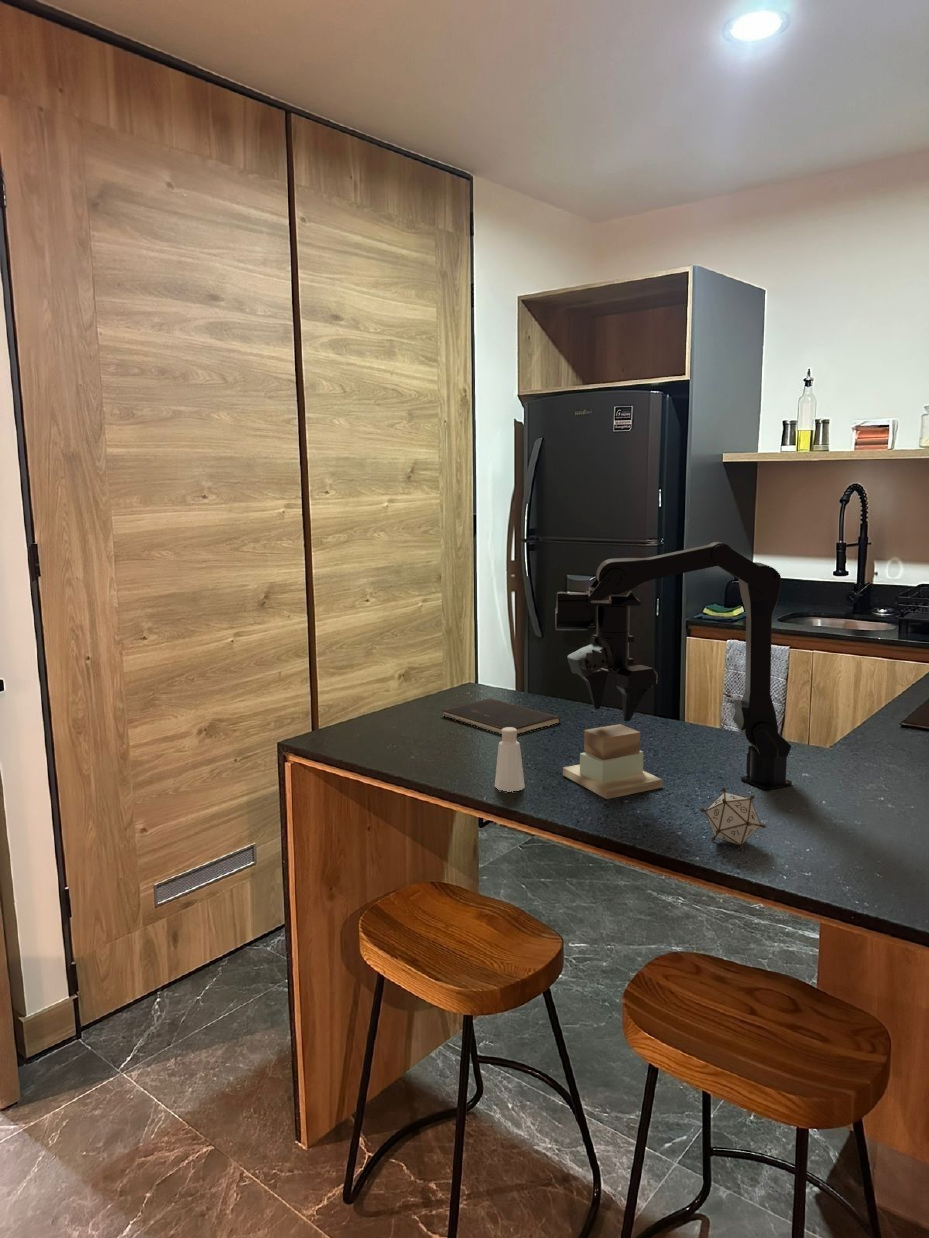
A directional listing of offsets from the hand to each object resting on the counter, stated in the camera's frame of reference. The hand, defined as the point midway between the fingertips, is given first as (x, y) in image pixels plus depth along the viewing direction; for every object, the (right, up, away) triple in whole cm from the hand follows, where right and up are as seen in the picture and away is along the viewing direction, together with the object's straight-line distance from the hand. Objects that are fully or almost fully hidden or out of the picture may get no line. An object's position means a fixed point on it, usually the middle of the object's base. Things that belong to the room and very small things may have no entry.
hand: (611, 714), depth 158 cm
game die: (+14, -17, -25) cm, 34 cm away
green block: (0, -11, +2) cm, 11 cm away
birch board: (0, -12, +2) cm, 13 cm away
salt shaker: (-19, -13, 0) cm, 23 cm away
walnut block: (0, -7, +1) cm, 7 cm away
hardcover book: (-19, -7, +44) cm, 48 cm away
